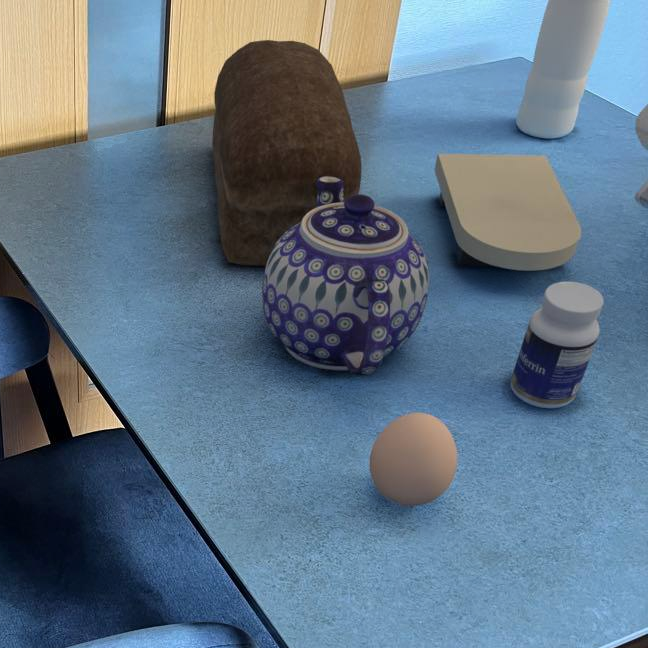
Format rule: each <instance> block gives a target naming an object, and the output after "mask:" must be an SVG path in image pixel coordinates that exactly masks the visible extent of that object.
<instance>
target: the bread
mask: <svg viewBox="0 0 648 648" xmlns="http://www.w3.org/2000/svg"><path fill="white" fill-rule="evenodd" d="M213 99H214V108H215V111H214V117H213V126H212V127H213V128H212V139H211V140H212V141H211V143H212V144H211V145H212V155H213V164H214V181H215V185H216V193H217V194H216V195H217V215H218V223H219V233H220V241H221V247H222V250H223V252H224V255H225V258H226V260H227V262H228V263H230V264H235V265H242V266H243V265H244V266H262V267H263V266H264V267H266V265H267V261H268V259H269V256H270V253H271V251H272V250H273V248H274V246H275V244H276V243H277V241H278V240H279V239H280V238H281V237H282V236H283V235H284V234H285V233H286V232H287V231H288V230H289V229H290V228H292V227H293V226H295V225H297V224H299V223H301V222H302V219H303V217H304V216H305V215H306V214H307V213H308V212H310V211H311V210H313V209H315V208H317V196H318V188H317V180H318V179H319V178H321V177H325V176H328V177H335V178H338V179H340V180H342V181H343V202H344V201H345V199H346V198H348V197H349V196H351V195H355V194H359V193H360V191H361V184H362V183H361V182H362V168H363V166H362V156H361V152H360V149H359V145H358V141H357V138H356V134H355V131H354V128H353V125H352V119H351V116H350V113H349V110H348V108H347V104H346V99H345V95H344V92H343V89H342V87H341V84H340V82H339V80H338V77H337V74H336V73H335V69H334V67H333V65H332V63H330V61H329V60H328V59H327V58H326V57H325V56H324V54H323V53H322V52H321V51H320V50H319V49H318V48H316V47H313V46H311V45H310V44H307V43H305V42H301V41H295V40H273V39H272V40H271V39H263V40H254V41H250V42H248V43H246V44H244V45H243V46H241V47H239V48H238V49H237V50H236V51H234V52H233V53H232V54H231V55H230V56H229V57H228V58H227V59H226V60H225V61H224V63H223V65H222V67H221V69H220V71H219V73H218V75H217V79H216V83H215V87H214V93H213Z"/></svg>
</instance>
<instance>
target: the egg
mask: <svg viewBox="0 0 648 648" xmlns="http://www.w3.org/2000/svg"><path fill="white" fill-rule="evenodd" d="M457 465H458V448H457V445H456V441H455V439H454V436H453V435H452V433H451V431H450V430H449V428H448V426H447V425H446V424H445V423H444V422H443V421H442V420H440V419H439V418H437V417H436V416H434V415H432V414H429V413H424V412H410V413H405V414H404V415H401V416H399V417H397V418H396V419H394V420H393V421H391V422H390V423H388V424H387V425H386V426H385V427H384V429H382V431H380V433H379V434H378V435H377V437H376V439H375V441H374V442H373V445H372V446H371V451H370V454H369V465H368V466H369V474H370V477H371V480H372V482H373V485H374V486H375V488H376V489H377V490H378V492H379V493H380V494H381V495H382V496H383V497H385V499H387V500H388V501H390V502H392V503H394V504H397V505H400V506H403V507H418V506H423V505H426V504H429V503H431V502H433V501H435V500H437V499H438V498H439V497H440V496H442V495H443V494H444V493H445V492H446V491H447V490H448V489H449V488H450V486H451V485H452V482H453V480H454V479H455V476H456V472H457V467H458V466H457Z"/></svg>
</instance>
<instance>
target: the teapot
mask: <svg viewBox="0 0 648 648" xmlns="http://www.w3.org/2000/svg"><path fill="white" fill-rule="evenodd" d="M317 188H318V196H317V208H315V209H313V210H311V211H310V212H308V213H307V214H306V215H305V216H304V217H303V219H302V222H301V223H299V224H297V225H295V226H293V227H292V228H290V229H289V230H288V231H287V232H286V233H285V234H284V235H283V236H282V237H281V238H280V239H279V240H278V241H277V243H276V244H275V246H274V248H273V250H272V251H271V253H270V256H269V259H268V261H267V265H266V266H265V269H264V274H263V278H262V286H261V287H262V289H261V296H262V297H261V298H262V311H263V316H264V319H265V321H266V325H267V328H268V329H269V331H270V332H271V334H272V336H274V337H275V339H277V340H278V342H280V343H281V344H282V345H283V346H284V347H285V349H286V351H287V352H288V353H289V354H290V356H292V357H293V358H295V360H298V361H300V362H301V363H303V364H306V365H308V366H310V367H314V368H317V369H321V370H326V371H327V370H328V371H343V372H344V371H349V372H350V373H351V374H352V375H355V376H359V377H366V376H369V375H372V374H374V373H376V372H377V371H378V369H379V368H380V367H381V365H382V362H383V359H384V358H385V357H387V356H388V355H391V354H392V353H394V352H395V351H397V350H399V349H400V348H401V347H403V346H404V345H405V344H406V343H407V341H408V340H409V339H410V338H411V337H412V336H413V334H414V332H415V331H416V329H417V327H418V326H419V324H420V322H421V319H422V316H423V315H424V311H425V308H426V304H427V301H428V296H429V288H430V269H429V263H428V260H427V257H426V255H425V252H424V250H423V248H422V247H421V245H420V244H419V243H418V241H417V240H415V238H413V236H411V234H410V232H409V227H408V225H407V224H406V221H405V220H404V219H403V218H402V217H400V216H399V215H398V214H397V213H395V212H394V211H391V210H389V209H388V208H385V207H383V206H378V205H375V201H374V200H373V198H372V197H371V196H369V195H365V194H355V195H351V196H349V197H348V198H346V199H345V201H344V202H343V181H342V180H340V179H338V178H335V177H328V176H325V177H321V178H319V179H318V180H317Z"/></svg>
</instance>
